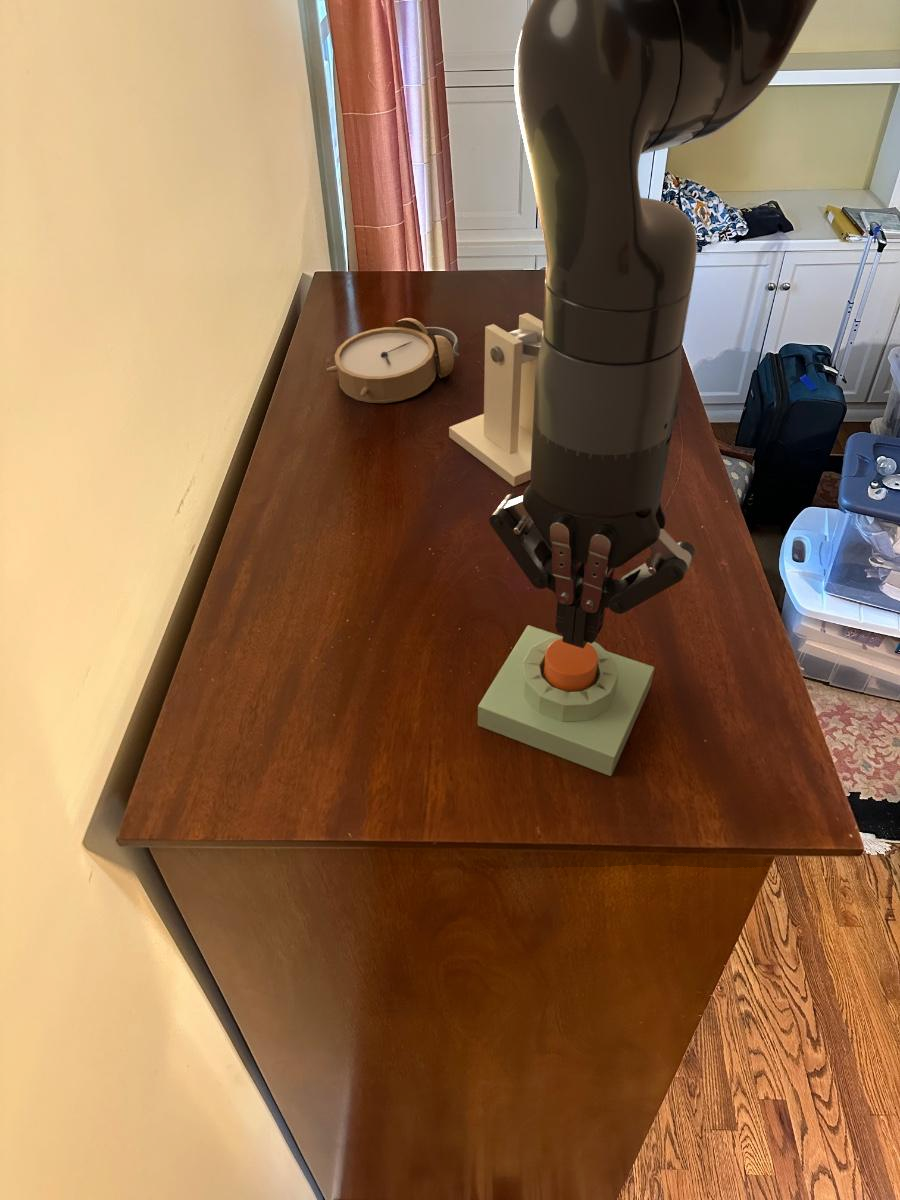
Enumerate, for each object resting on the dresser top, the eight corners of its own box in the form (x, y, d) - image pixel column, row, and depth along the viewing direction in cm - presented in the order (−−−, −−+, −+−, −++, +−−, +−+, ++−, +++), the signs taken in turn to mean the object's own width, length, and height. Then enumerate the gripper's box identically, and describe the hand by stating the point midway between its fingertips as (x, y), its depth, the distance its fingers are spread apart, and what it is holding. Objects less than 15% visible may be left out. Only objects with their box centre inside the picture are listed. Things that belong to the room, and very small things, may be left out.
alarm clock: (313, 352, 97) (419, 295, 102) (325, 388, 101) (427, 332, 105) (367, 392, 91) (478, 329, 95) (377, 429, 94) (483, 367, 99)
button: (602, 664, 61) (605, 646, 60) (585, 699, 59) (587, 682, 57) (555, 648, 62) (556, 630, 61) (536, 681, 60) (537, 664, 59)
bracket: (584, 456, 87) (597, 336, 78) (514, 487, 83) (519, 365, 74) (517, 410, 93) (522, 295, 84) (448, 436, 89) (446, 319, 81)
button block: (650, 686, 64) (658, 649, 61) (611, 777, 58) (618, 740, 55) (526, 644, 67) (529, 607, 65) (477, 725, 62) (477, 688, 59)
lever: (632, 365, 73) (630, 337, 72) (583, 385, 71) (580, 355, 70) (535, 349, 83) (532, 324, 82) (489, 365, 81) (486, 339, 80)
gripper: (462, 417, 46) (465, 643, 58) (706, 478, 42) (656, 709, 53) (518, 357, 51) (511, 576, 63) (743, 405, 47) (689, 632, 58)
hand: (578, 637), depth 58 cm, fingers closed
